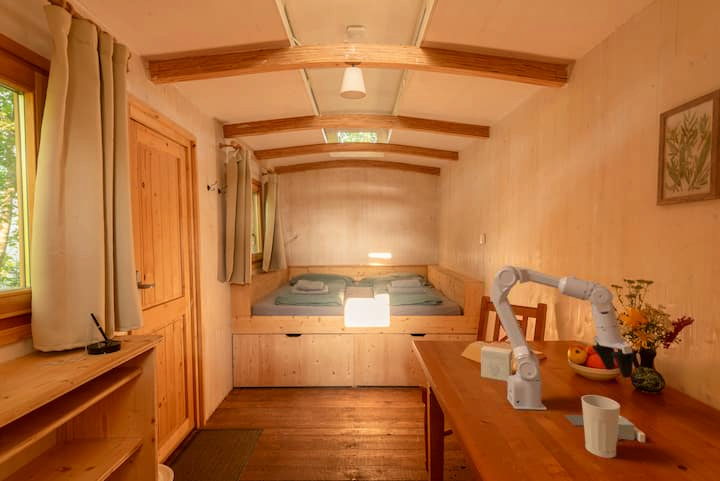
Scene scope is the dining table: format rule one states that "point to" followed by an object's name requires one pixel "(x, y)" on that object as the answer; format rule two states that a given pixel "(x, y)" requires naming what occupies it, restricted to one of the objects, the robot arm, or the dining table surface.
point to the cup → (600, 425)
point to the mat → (576, 419)
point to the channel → (638, 434)
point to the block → (625, 429)
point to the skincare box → (496, 363)
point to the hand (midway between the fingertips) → (618, 373)
